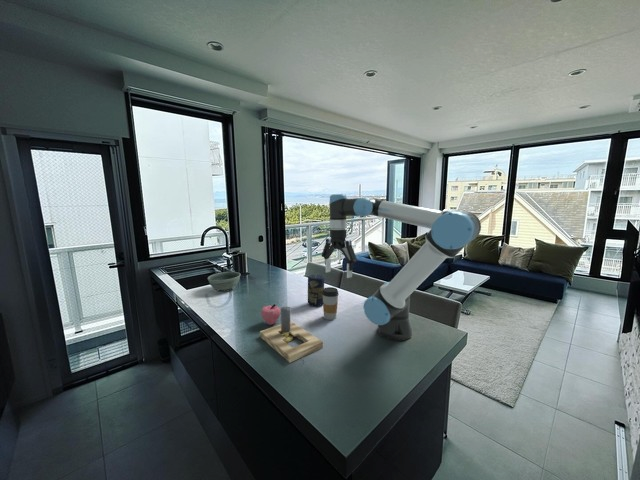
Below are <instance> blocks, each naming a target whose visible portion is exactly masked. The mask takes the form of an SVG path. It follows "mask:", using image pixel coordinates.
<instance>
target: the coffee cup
mask: <svg viewBox="0 0 640 480" xmlns="http://www.w3.org/2000/svg"><path fill="white" fill-rule="evenodd" d="M322 295H323V305H322V306H323V307H322V309H323V310H322V311H323V317H324V319H325V320H327V321H328V320H329V321H333V320H335V319H337V312H338V301H339V300H338V299H339V291H338V288H337V287H332V286H331V287H330V286H329V287H324V289H323V293H322Z"/></svg>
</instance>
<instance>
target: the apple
mask: <svg viewBox="0 0 640 480" xmlns="http://www.w3.org/2000/svg"><path fill="white" fill-rule="evenodd" d="M260 314H261V317H262V319H263V320H264V321H265V323H266V325H268V326H271V325H275V324H276V323H277V321H278V319H279V318H280V317H281V307H279V306H277V305H276V304H275V303H274V304H273V305H270V304H269V305H266V306H265V305H263V307H262V308H261V310H260Z"/></svg>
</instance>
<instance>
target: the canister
mask: <svg viewBox="0 0 640 480" xmlns="http://www.w3.org/2000/svg"><path fill="white" fill-rule="evenodd" d="M324 288H325V276H324V275H322V274H317V273H316V274H310V275H308V277H307V304H308V305H309V306H311V307H321V306H323V295H322V293H323V289H324Z"/></svg>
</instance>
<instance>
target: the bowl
mask: <svg viewBox="0 0 640 480" xmlns="http://www.w3.org/2000/svg"><path fill="white" fill-rule="evenodd" d="M240 278H241V273H240V272H237V271H224V272H218V273H213V274H211V275H209V276H208V277H207V280H208V283H209V285H210V286H211V288H213V289H215V290H217V291H218V292H221V293H222V292H223V293H225V292H229V291H232V290H233V288H235V287H236V286H238V283H239V281H240Z"/></svg>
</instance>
